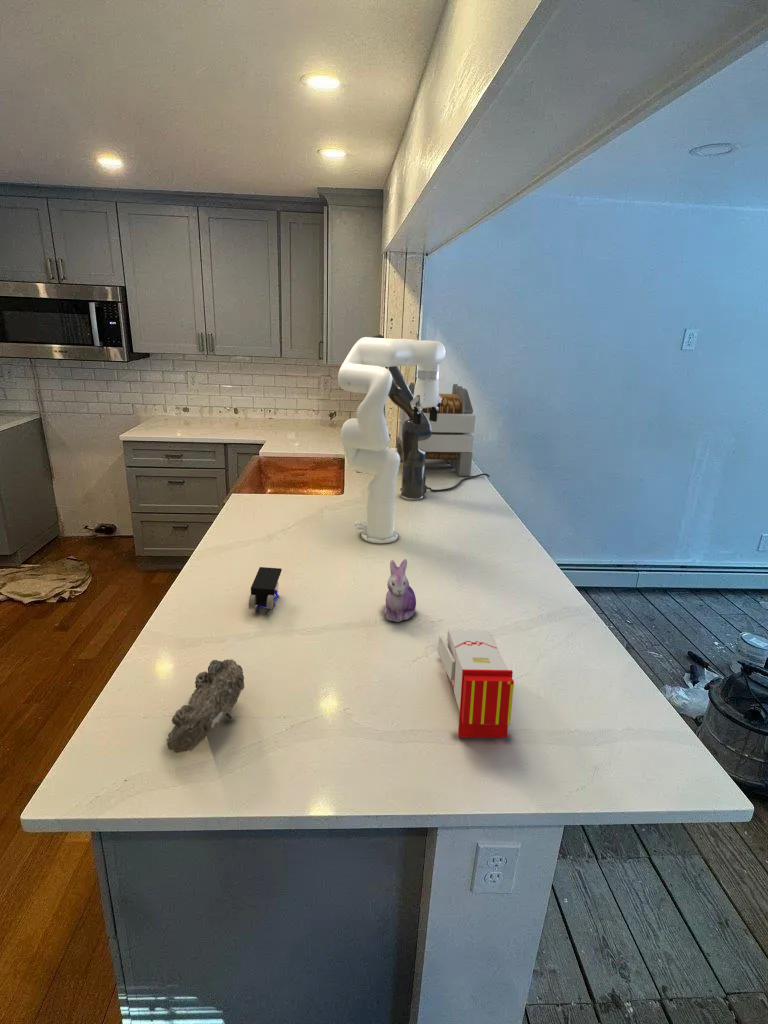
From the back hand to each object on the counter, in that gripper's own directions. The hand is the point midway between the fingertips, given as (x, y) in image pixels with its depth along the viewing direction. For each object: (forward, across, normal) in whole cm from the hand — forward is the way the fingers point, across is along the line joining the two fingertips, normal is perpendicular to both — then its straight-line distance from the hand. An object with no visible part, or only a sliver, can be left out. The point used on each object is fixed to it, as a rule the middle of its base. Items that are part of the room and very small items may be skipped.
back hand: (376, 453), depth 283 cm
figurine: (+7, -38, -141) cm, 147 cm away
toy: (+7, -35, -175) cm, 179 cm away
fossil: (+7, -86, -169) cm, 190 cm away
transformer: (+6, +27, -7) cm, 29 cm away
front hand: (-29, -4, -68) cm, 74 cm away
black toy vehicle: (+6, -71, -128) cm, 146 cm away
